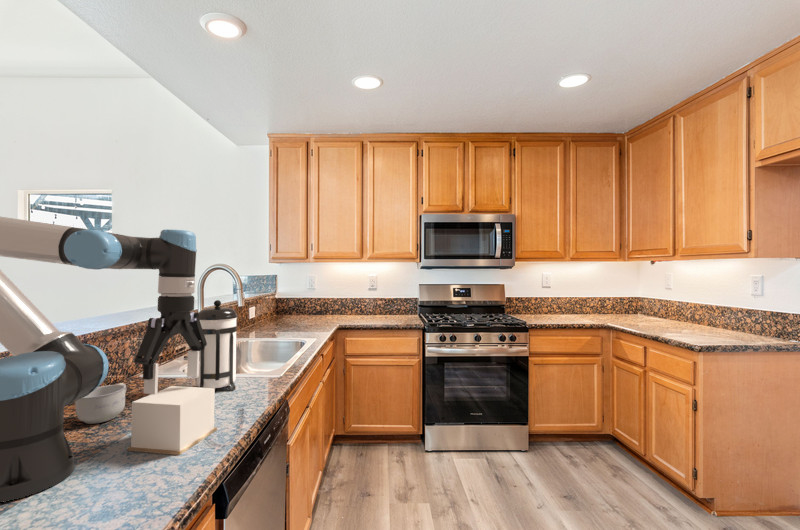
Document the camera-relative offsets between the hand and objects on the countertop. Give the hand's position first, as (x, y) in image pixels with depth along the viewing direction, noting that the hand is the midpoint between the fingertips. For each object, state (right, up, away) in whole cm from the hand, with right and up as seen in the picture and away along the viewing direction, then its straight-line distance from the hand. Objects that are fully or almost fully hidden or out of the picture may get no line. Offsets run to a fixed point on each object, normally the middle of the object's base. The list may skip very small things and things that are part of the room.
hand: (173, 384), depth 90 cm
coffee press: (-8, -14, +38) cm, 41 cm away
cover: (0, -13, 0) cm, 13 cm away
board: (0, -13, 0) cm, 13 cm away
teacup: (-26, -13, +13) cm, 33 cm away
